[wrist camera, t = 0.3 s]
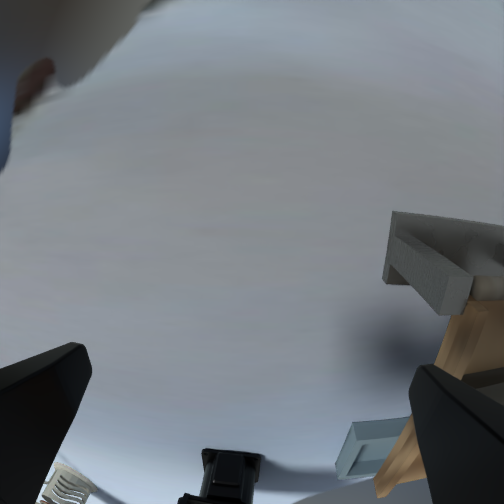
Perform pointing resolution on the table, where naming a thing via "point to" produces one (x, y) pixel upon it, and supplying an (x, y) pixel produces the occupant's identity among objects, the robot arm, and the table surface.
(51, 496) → the french press
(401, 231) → the hinge stand
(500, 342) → the tray
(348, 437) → the bin
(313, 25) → the table surface
